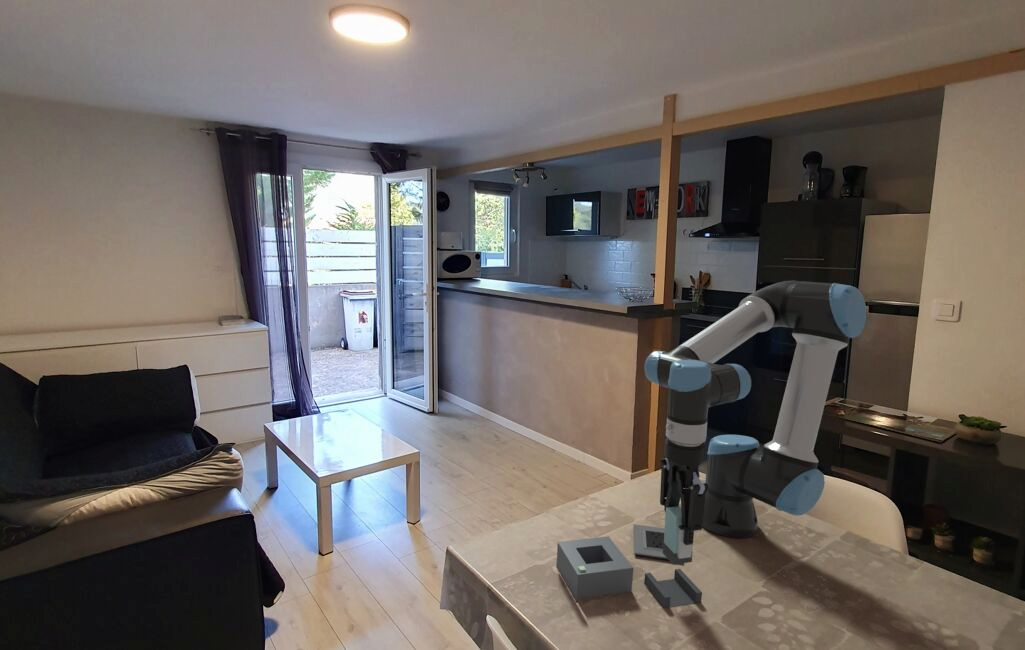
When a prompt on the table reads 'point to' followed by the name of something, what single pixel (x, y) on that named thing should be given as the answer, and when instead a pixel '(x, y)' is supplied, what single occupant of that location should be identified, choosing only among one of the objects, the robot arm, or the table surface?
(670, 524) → the plug
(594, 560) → the port block
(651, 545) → the electrical outlet
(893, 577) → the table surface
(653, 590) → the grey u-channel bracket
